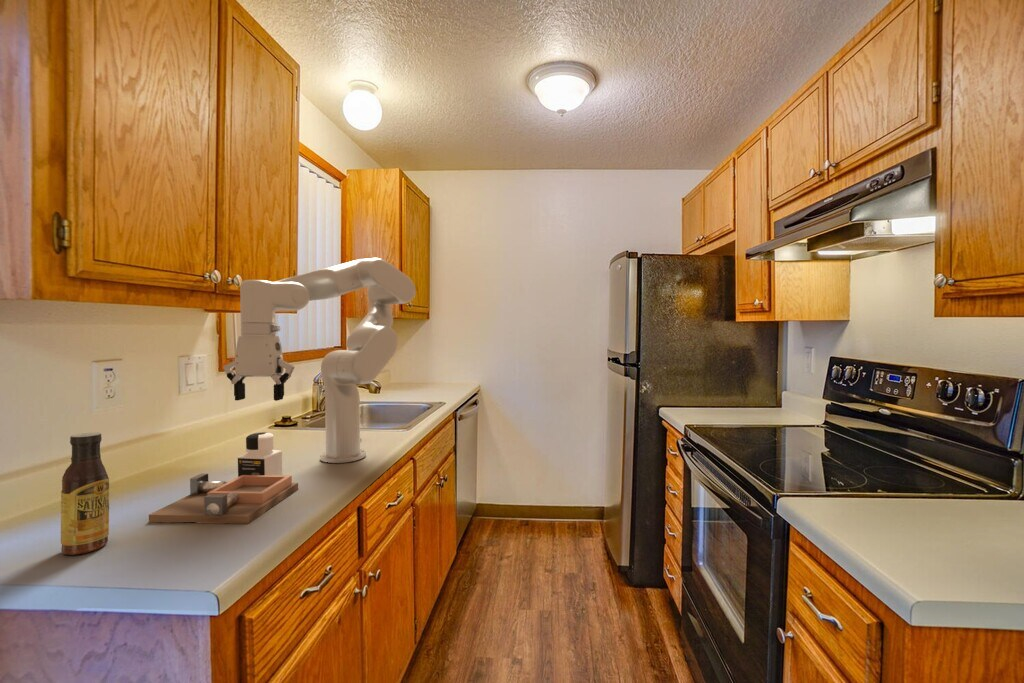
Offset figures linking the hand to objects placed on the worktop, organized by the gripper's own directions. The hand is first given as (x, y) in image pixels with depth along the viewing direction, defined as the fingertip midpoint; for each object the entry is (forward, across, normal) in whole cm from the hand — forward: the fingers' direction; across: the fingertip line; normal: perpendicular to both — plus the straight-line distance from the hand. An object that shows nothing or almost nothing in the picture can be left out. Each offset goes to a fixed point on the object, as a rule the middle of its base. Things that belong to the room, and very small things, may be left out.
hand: (259, 399), depth 117 cm
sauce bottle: (+21, +10, +36) cm, 43 cm away
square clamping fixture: (+21, -2, +15) cm, 25 cm away
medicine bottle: (+21, 0, 0) cm, 21 cm away
